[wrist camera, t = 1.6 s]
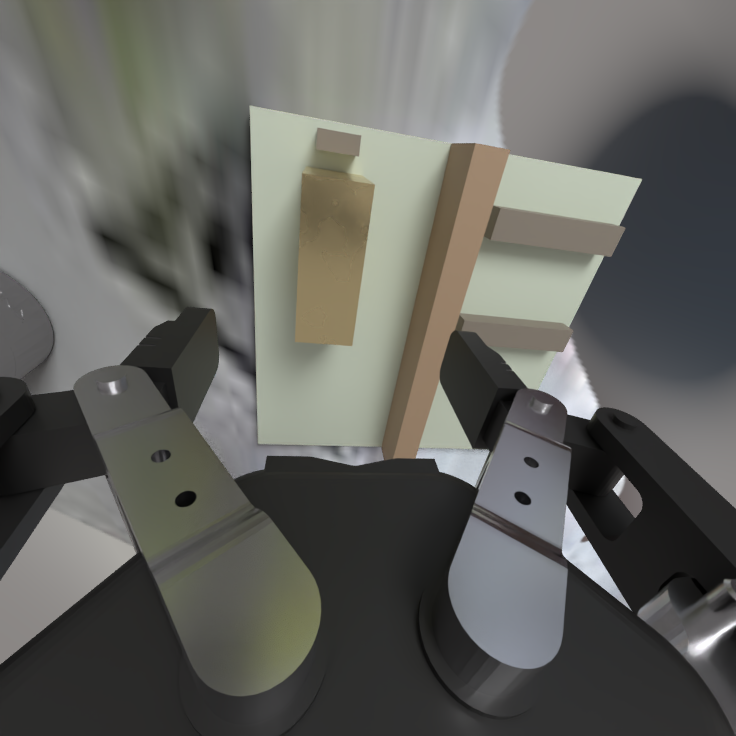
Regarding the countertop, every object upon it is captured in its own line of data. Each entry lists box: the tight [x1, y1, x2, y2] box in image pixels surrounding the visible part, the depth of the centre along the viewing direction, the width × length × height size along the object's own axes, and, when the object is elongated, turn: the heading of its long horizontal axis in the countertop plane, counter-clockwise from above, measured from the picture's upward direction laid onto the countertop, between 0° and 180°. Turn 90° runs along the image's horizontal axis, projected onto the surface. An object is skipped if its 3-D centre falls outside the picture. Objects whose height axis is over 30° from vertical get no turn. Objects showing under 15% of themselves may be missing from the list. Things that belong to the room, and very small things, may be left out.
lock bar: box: [295, 166, 375, 346], centre depth 21 cm, size 9×4×6 cm, turn 172°
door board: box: [250, 106, 642, 460], centre depth 27 cm, size 26×26×5 cm
